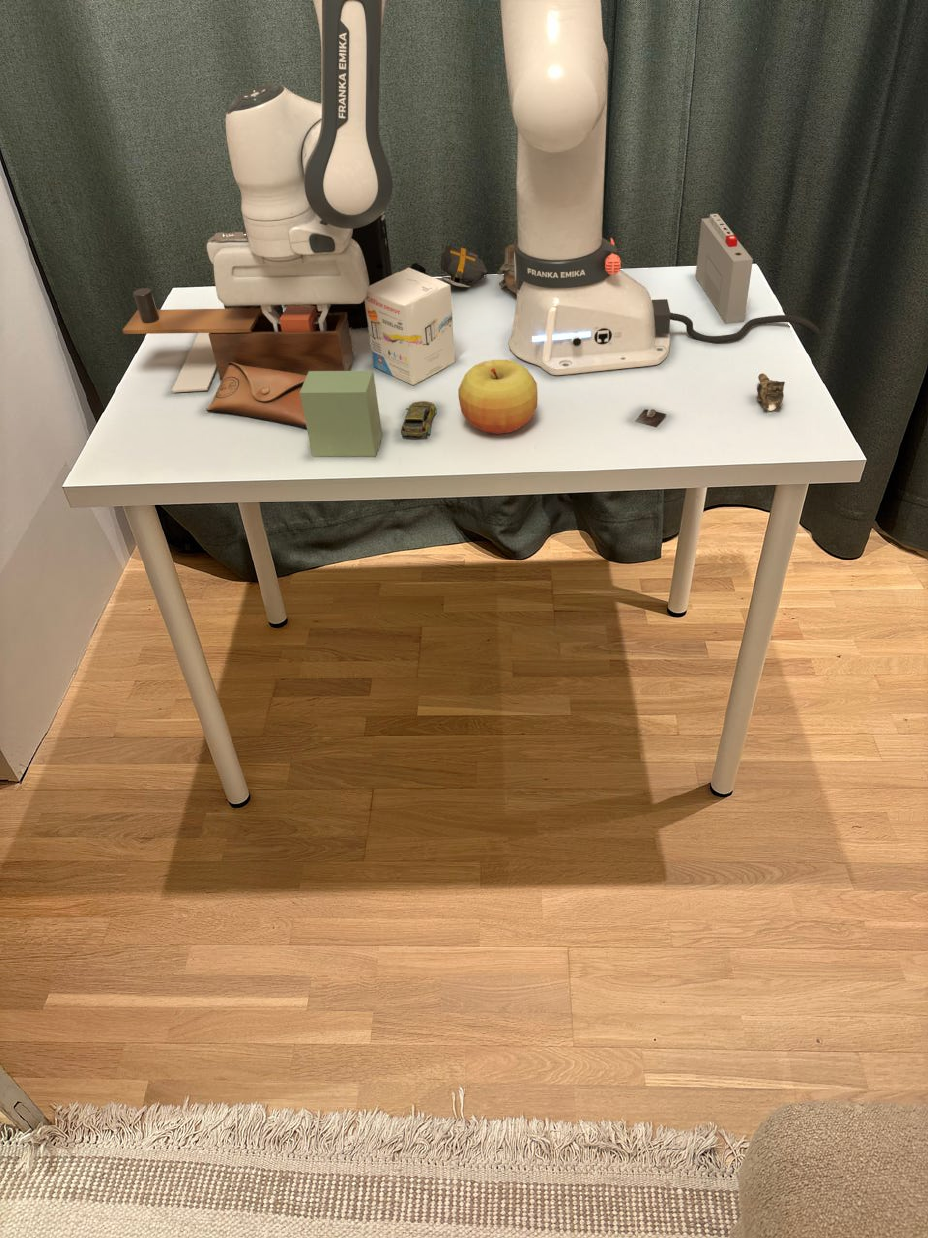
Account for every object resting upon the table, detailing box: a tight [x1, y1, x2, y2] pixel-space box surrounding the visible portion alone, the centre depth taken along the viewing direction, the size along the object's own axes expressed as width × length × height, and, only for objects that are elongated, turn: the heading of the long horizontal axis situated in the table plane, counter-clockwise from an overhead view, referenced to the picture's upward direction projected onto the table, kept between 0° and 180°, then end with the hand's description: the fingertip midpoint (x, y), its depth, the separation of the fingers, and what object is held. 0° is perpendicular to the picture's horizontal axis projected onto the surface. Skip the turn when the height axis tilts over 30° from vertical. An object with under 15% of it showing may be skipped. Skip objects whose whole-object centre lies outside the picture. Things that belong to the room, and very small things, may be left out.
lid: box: [122, 287, 262, 335], centre depth 130 cm, size 18×6×5 cm, turn 84°
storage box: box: [208, 312, 355, 382], centre depth 133 cm, size 18×6×7 cm, turn 84°
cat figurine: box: [756, 373, 786, 412], centre depth 120 cm, size 3×8×4 cm, turn 0°
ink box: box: [364, 267, 456, 386], centre depth 130 cm, size 9×8×12 cm
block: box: [279, 305, 317, 332], centre depth 130 cm, size 4×4×4 cm
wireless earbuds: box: [398, 262, 430, 276], centre depth 153 cm, size 7×2×5 cm
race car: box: [400, 400, 437, 440], centre depth 122 cm, size 4×8×2 cm, turn 171°
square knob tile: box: [635, 408, 667, 428], centre depth 119 cm, size 3×3×1 cm
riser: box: [300, 370, 383, 457], centre depth 117 cm, size 8×5×9 cm, turn 84°
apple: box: [458, 359, 539, 435], centre depth 119 cm, size 10×10×8 cm
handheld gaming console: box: [311, 211, 393, 330], centre depth 137 cm, size 12×5×20 cm, turn 76°
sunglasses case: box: [205, 362, 307, 429], centre depth 127 cm, size 18×7×7 cm
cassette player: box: [694, 213, 754, 324], centre depth 139 cm, size 16×3×10 cm, turn 6°
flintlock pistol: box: [496, 244, 517, 295], centre depth 150 cm, size 19×4×10 cm
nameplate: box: [171, 333, 218, 393], centre depth 140 cm, size 22×1×5 cm
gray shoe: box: [439, 245, 489, 288], centre depth 153 cm, size 7×15×4 cm, turn 176°
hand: (301, 332), depth 131 cm, fingers closed on block, 4 cm apart
